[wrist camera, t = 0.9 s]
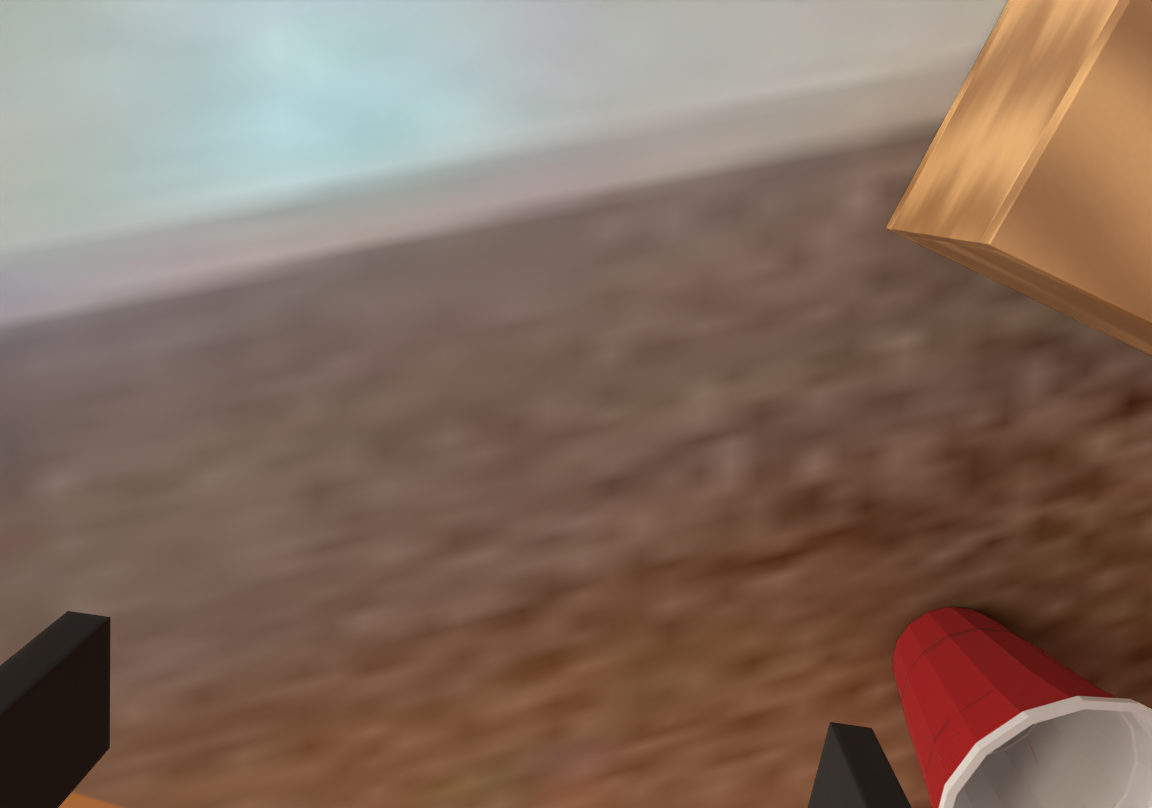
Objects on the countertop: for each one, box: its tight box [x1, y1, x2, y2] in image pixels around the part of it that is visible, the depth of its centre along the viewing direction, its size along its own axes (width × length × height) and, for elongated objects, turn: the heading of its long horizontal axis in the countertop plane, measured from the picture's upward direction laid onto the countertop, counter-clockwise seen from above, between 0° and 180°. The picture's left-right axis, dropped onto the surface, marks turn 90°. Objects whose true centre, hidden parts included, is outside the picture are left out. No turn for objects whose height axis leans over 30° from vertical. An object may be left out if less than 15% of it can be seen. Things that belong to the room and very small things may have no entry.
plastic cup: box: [892, 607, 1152, 808], centre depth 38 cm, size 11×11×12 cm
